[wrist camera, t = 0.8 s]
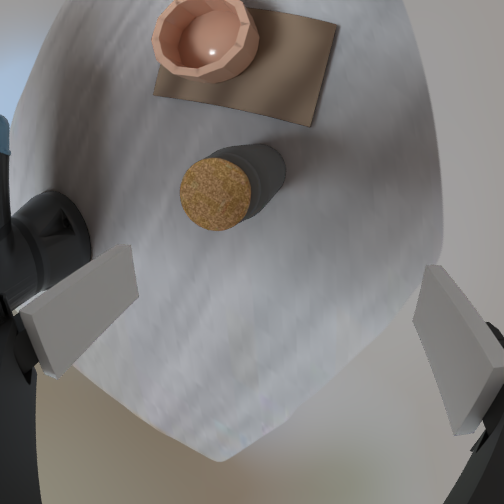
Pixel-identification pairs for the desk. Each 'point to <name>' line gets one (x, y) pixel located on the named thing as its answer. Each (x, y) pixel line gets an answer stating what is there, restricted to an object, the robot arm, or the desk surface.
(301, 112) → the board
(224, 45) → the terracotta bowl
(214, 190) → the bottle
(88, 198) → the desk surface
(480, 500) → the robot arm
